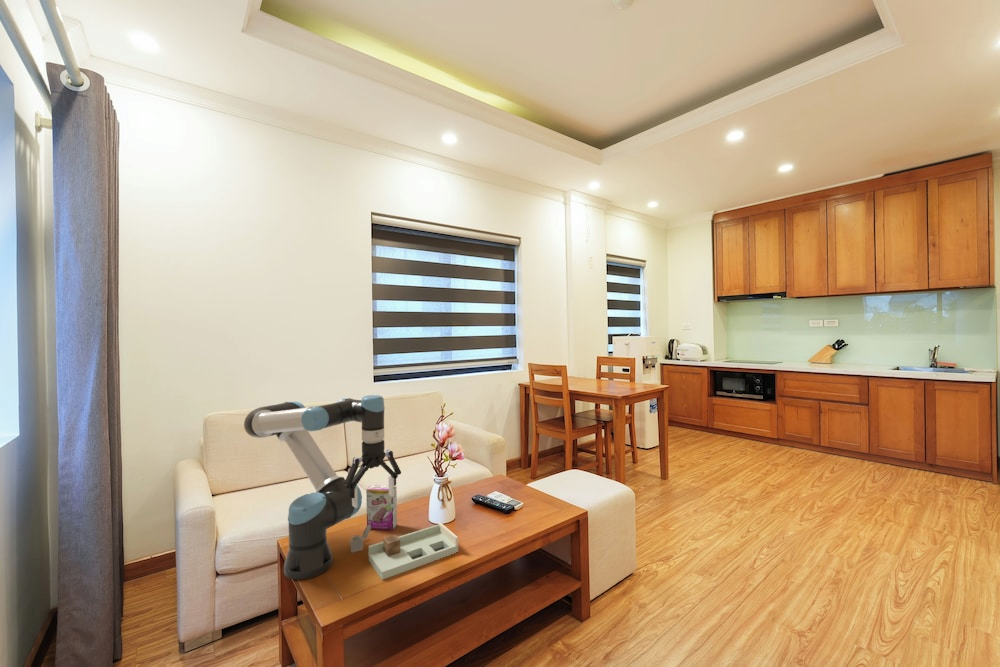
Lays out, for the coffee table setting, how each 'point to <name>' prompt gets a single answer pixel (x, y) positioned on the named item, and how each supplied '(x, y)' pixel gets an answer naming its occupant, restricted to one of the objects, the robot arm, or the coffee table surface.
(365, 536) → the lighter
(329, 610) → the coffee table surface
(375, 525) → the candy bar box
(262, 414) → the robot arm
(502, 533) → the coffee table surface
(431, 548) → the board
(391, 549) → the block
